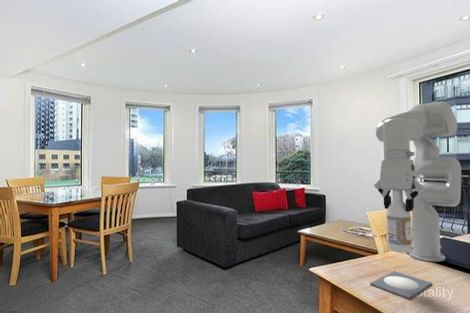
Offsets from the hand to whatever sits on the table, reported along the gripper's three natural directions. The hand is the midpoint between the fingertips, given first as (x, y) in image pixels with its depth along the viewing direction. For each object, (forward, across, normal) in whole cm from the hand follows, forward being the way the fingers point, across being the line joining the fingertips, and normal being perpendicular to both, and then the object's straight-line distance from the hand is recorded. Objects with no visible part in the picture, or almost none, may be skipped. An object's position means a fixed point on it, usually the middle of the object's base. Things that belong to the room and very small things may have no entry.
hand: (398, 209), depth 92 cm
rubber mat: (+25, 0, 0) cm, 25 cm away
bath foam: (+14, 0, 0) cm, 14 cm away
